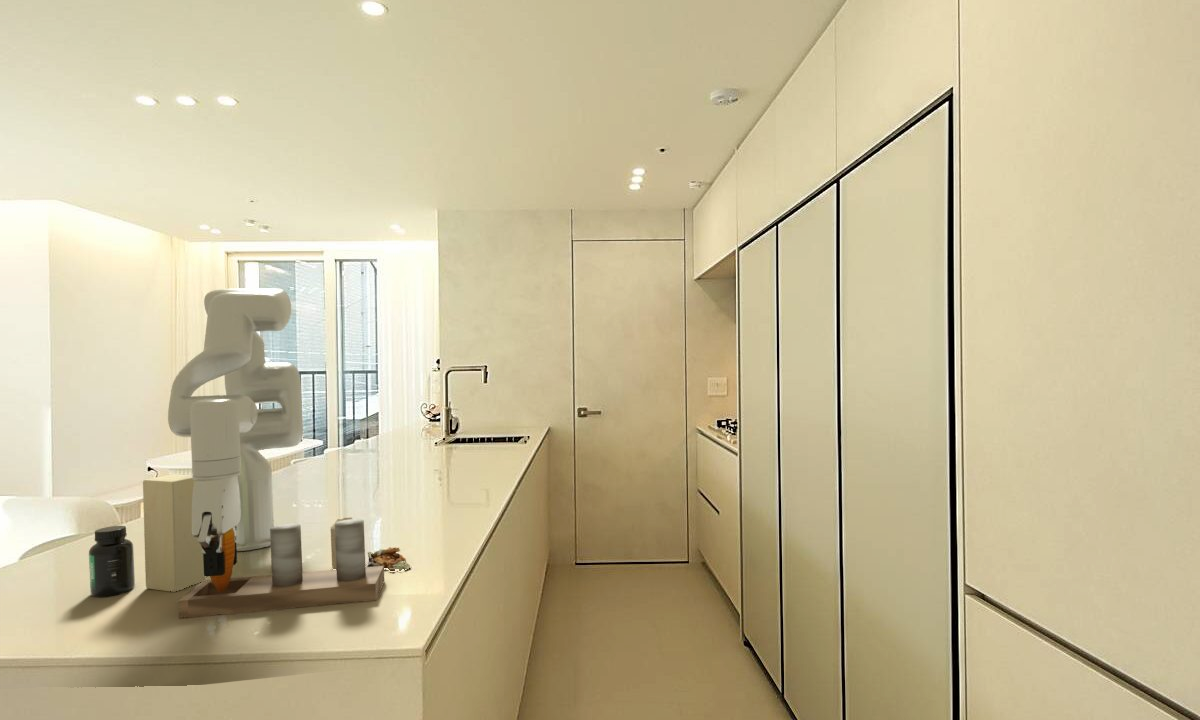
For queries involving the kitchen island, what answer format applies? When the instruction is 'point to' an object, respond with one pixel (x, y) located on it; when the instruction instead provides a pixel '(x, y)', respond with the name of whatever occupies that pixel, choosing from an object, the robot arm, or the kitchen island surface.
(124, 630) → the kitchen island surface
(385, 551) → the brown irregular lump
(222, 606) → the rail
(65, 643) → the kitchen island surface
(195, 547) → the beige tall rectangular block
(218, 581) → the carrot
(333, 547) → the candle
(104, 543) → the supplement bottle
